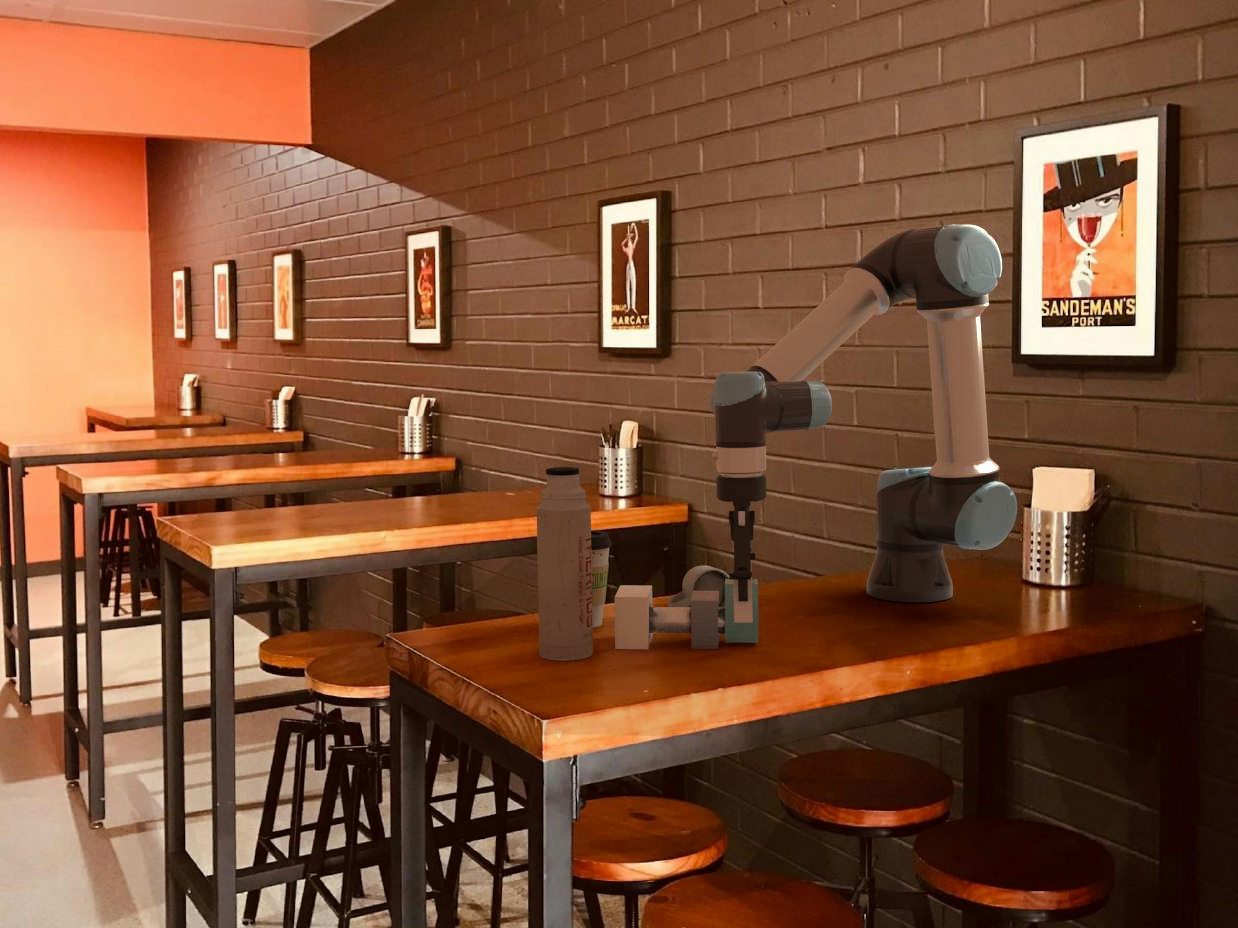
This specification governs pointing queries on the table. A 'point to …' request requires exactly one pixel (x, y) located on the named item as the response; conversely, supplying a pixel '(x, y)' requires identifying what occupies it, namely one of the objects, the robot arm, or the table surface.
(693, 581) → the ceramic mug
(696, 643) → the square hollow collar
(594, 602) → the coffee cup
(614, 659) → the table surface
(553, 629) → the thermos bottle
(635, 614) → the socket block
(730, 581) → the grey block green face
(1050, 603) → the table surface
